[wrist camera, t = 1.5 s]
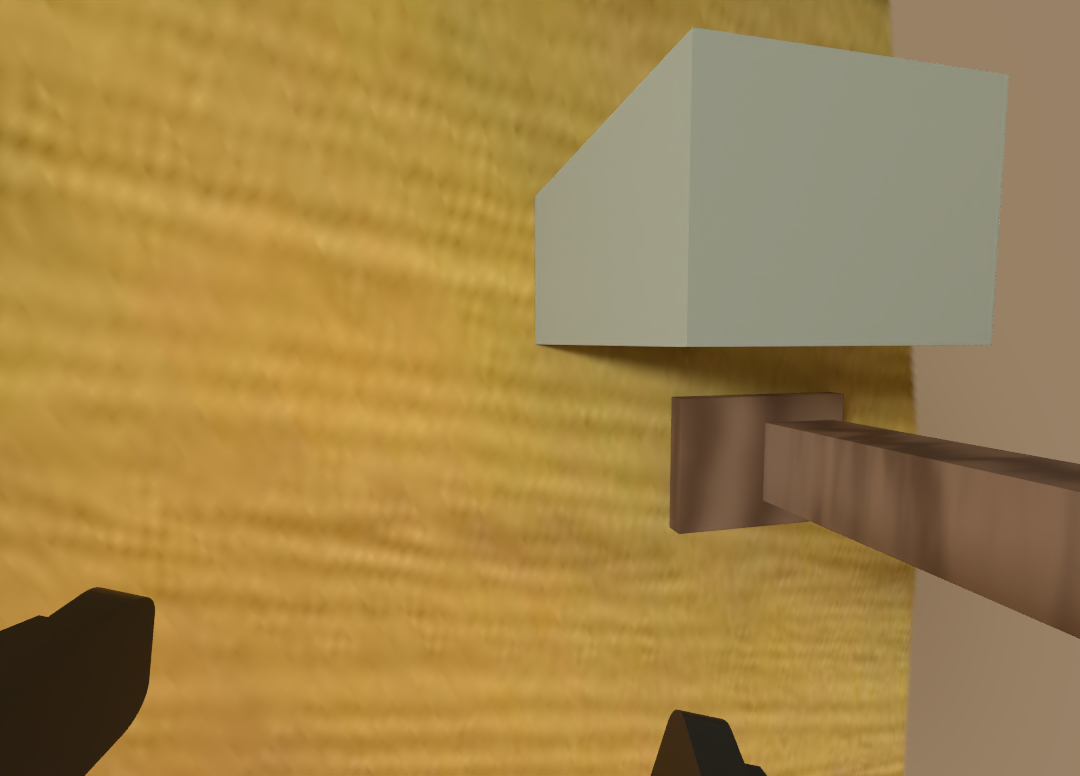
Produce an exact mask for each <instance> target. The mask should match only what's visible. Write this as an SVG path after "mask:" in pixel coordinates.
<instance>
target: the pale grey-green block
mask: <svg viewBox="0 0 1080 776" xmlns="http://www.w3.org/2000/svg"><path fill="white" fill-rule="evenodd" d="M1008 80H1009V75H1008V74H1001V73H994V72H988V71H981V70H974V69H967V68H961V67H954V66H947V65H941V64H934V63H927V62H921V61H914V60H908V59H901V58H894V57H888V56H881V55H874V54H868V53H861V52H854V51H848V50H841V49H834V48H828V47H821V46H814V45H808V44H801V43H794V42H788V41H781V40H774V39H768V38H761V37H755V36H748V35H741V34H735V33H728V32H721V31H715V30H708V29H701V28H695V27H692V29H691V30H690V31H689V32H688V33H687V34H686V35H685V36H684V37H683V38H682V39H681V40H680V41H679V43H678V44H677V45H676V46H675V47H674V48H673V49H672V50H671V51H670V52H669V53H668V54H667V55H666V56H665V58H664V59H663V60H662V61H661V62H660V63H659V64H658V65H657V66H656V67H655V68H654V69H653V70H652V72H651V73H650V74H649V75H648V76H647V77H646V78H645V79H644V80H643V81H642V82H641V83H640V84H639V86H638V87H637V88H636V89H635V90H634V91H633V92H632V93H631V94H630V95H629V96H628V97H627V98H626V99H625V101H624V102H623V103H622V104H621V105H620V106H619V107H618V108H617V109H616V110H615V111H614V112H613V113H612V115H611V116H610V117H609V118H608V119H607V120H606V121H605V122H604V123H603V124H602V125H601V126H600V127H599V128H598V130H597V131H596V132H595V133H594V134H593V135H592V136H591V137H590V138H589V139H588V140H587V141H586V142H585V144H584V145H583V146H582V147H581V148H580V149H579V150H578V151H577V152H576V153H575V154H574V155H573V156H572V158H571V159H570V160H569V161H568V162H567V163H566V164H565V165H564V166H563V167H562V168H561V169H560V170H559V171H558V173H557V174H556V175H555V176H554V177H553V178H552V179H551V180H550V181H549V182H548V183H547V184H546V185H545V187H544V188H543V189H542V190H541V191H540V192H539V193H538V194H537V195H536V196H535V344H547V345H605V346H664V347H751V346H914V345H991V342H992V327H993V310H994V295H995V280H996V279H995V278H996V265H997V249H998V233H999V219H1000V203H1001V188H1002V173H1003V157H1004V141H1005V126H1006V110H1007V95H1008Z"/></svg>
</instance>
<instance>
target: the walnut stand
mask: <svg viewBox="0 0 1080 776" xmlns="http://www.w3.org/2000/svg"><path fill="white" fill-rule="evenodd" d="M843 401H844V394H841V393H832V392H819V393H786V394H753V395H720V396H687V397H672V419H671V479H670V528H671V529H673V530H674V531H676V532H677V533H679V534H684V533H694V532H704V531H715V530H725V529H735V528H746V527H756V526H766V525H776V524H787V523H797V522H807V521H811V522H814V523H816V524H818V525H820V526H823V527H825V528H827V529H830V530H832V531H834V532H836V533H839V534H841V535H843V536H846V537H848V538H850V539H852V540H855V541H857V542H859V543H862V544H864V545H866V546H869V547H871V548H873V549H875V550H878V551H880V552H882V553H885V554H887V555H889V556H891V557H894V558H896V559H898V560H901V561H903V562H905V563H907V564H910V565H912V566H914V567H917V568H919V569H921V570H924V571H926V572H928V573H931V574H933V575H935V576H937V577H940V578H942V579H944V580H947V581H949V582H951V583H953V584H956V585H958V586H960V587H962V588H965V589H967V590H969V591H972V592H974V593H976V594H979V595H981V596H983V597H986V598H988V599H990V600H992V601H995V602H997V603H999V604H1001V605H1004V606H1006V607H1009V608H1011V609H1013V610H1015V611H1017V612H1020V613H1022V614H1025V615H1027V616H1029V617H1031V618H1034V619H1036V620H1038V621H1040V622H1043V623H1045V624H1047V625H1050V626H1052V627H1054V628H1057V629H1059V630H1061V631H1064V632H1066V633H1068V634H1070V635H1072V636H1075V637H1077V638H1079V639H1080V464H1076V463H1070V462H1065V461H1059V460H1053V459H1048V458H1042V457H1037V456H1032V455H1026V454H1020V453H1015V452H1009V451H1004V450H998V449H992V448H987V447H981V446H976V445H970V444H965V443H959V442H953V441H948V440H942V439H937V438H931V437H925V436H920V435H915V434H909V433H904V432H898V431H892V430H887V429H881V428H876V427H870V426H865V425H859V424H853V423H848V422H843Z"/></svg>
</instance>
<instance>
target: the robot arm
mask: <svg viewBox="0 0 1080 776" xmlns="http://www.w3.org/2000/svg"><path fill="white" fill-rule="evenodd" d="M154 617H155V606H154V602H153V601H152V599H150V598H148V597H144V596H139V595H134V594H129V593H125V592H120V591H115V590H110V589H105V588H100V587H96V588H92V589H90V590H87V591H86V592H84V593H82V594H81V595H79V596H78V597H77V598H75V599H74V600H72V601H71V602H69V603H68V604H66V605H65V606H63V607H62V608H61V609H59V610H58V611H56V612H55V613H53V614H52V615H50V616H49V617H44V616H40V615H39V616H36V617H34V618H31V619H29V620H26V621H24V622H21V623H19V624H16V625H14V626H11V627H9V628H6V629H4V630H1V631H0V776H85V775H86V774H87V773H88V771H89V770H90V769H91V768H92V767H93V766H94V765H95V764H96V763H97V762H98V761H99V760H100V759H101V757H102V756H103V755H104V754H105V753H106V752H107V751H108V750H109V749H110V748H111V747H112V746H113V744H114V743H115V742H116V741H117V740H118V739H119V738H120V737H121V736H122V735H123V734H124V732H125V731H126V730H127V729H128V727H129V726H130V725H131V723H132V722H133V720H134V719H135V717H136V715H137V714H138V712H139V710H140V708H141V706H142V704H143V701H144V699H145V696H146V693H147V689H148V685H149V676H150V664H151V652H152V640H153V629H154ZM651 776H767V775H766V774H765V773H764V771H763V770H762V769H761V767H759V766H754V765H750V764H745V763H744V761H743V758H742V756H741V753H740V751H739V748H738V746H737V743H736V740H735V738H734V735H733V733H732V730H731V728H730V726H729V724H728V723H727V722H726V721H725V720H723V719H719V718H715V717H710V716H705V715H700V714H695V713H691V712H686V711H681V710H675V711H673V713H672V714H671V716H670V718H669V720H668V723H667V726H666V730H665V733H664V736H663V739H662V742H661V745H660V748H659V752H658V755H657V758H656V761H655V764H654V767H653V770H652V773H651Z"/></svg>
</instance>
